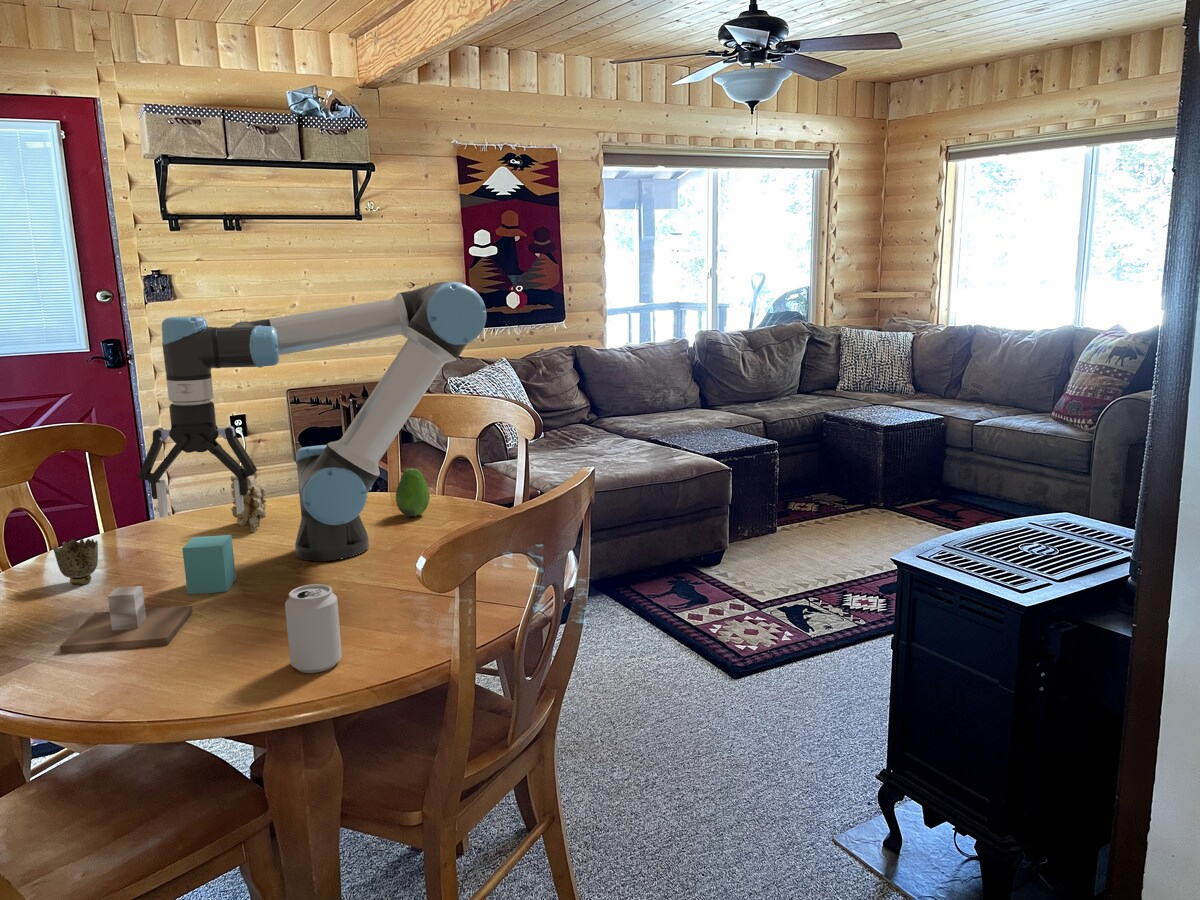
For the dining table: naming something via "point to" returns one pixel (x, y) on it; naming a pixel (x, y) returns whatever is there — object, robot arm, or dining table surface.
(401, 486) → the fruit
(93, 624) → the peg base
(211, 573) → the teal toy cube
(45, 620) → the dining table surface
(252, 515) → the mineral formation
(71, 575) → the cup
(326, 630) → the can
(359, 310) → the robot arm
